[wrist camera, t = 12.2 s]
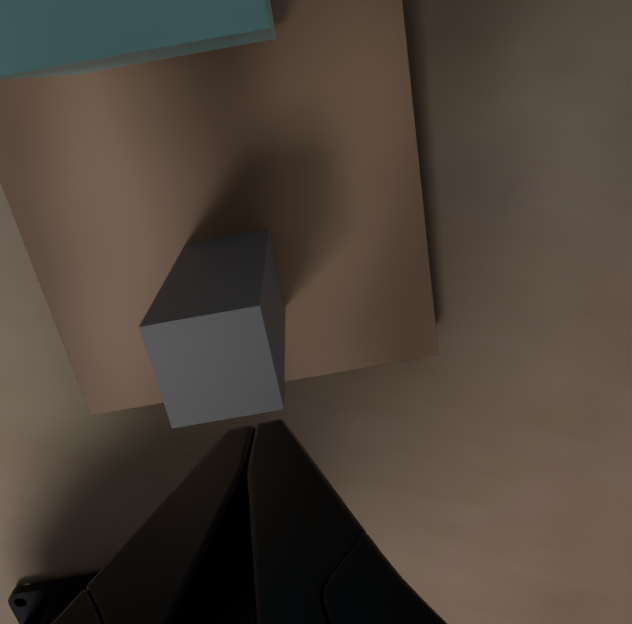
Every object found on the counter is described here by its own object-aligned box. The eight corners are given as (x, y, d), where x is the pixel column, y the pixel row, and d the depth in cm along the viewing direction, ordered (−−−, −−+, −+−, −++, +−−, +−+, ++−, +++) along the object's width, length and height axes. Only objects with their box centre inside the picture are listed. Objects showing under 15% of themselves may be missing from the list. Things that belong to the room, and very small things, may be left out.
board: (103, 392, 22) (91, 415, 20) (-110, -181, 15) (-151, -206, 13) (429, 335, 21) (438, 354, 20) (362, -281, 14) (369, -316, 13)
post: (211, 303, 20) (171, 428, 13) (192, 231, 19) (138, 326, 12) (286, 289, 20) (283, 409, 13) (270, 216, 19) (259, 305, 12)
